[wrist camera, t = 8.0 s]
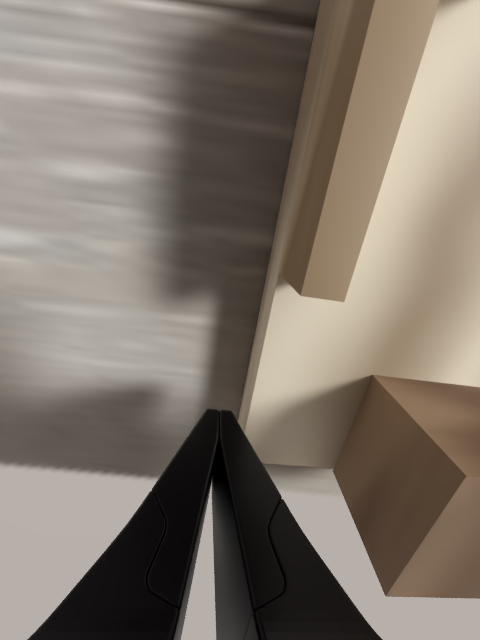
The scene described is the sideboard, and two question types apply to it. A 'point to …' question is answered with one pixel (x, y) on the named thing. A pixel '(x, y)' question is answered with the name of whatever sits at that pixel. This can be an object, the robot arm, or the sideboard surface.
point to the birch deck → (371, 225)
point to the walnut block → (416, 485)
